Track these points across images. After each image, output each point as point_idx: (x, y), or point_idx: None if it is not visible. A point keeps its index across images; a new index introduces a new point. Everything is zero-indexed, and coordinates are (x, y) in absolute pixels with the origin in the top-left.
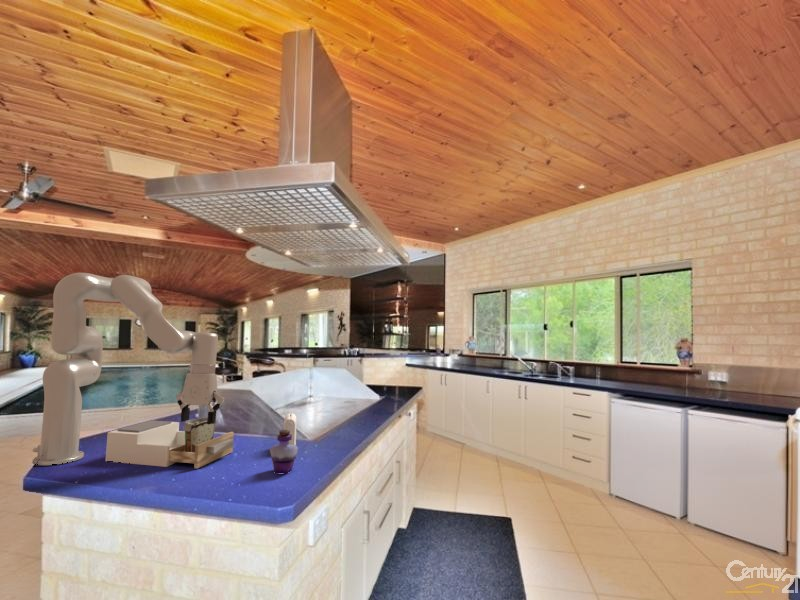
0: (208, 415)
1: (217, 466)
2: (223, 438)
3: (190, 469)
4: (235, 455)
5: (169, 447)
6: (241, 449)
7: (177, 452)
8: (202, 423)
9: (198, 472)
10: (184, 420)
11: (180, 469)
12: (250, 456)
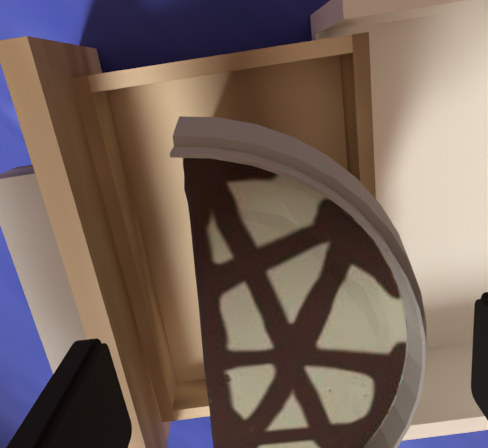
0: (40, 422)
1: (20, 157)
2: None
3: (120, 39)
4: None
5: (341, 21)
6: (167, 442)
7: (262, 49)
8: (203, 351)
9: (19, 9)
10: (477, 327)
11: (179, 12)
12: (16, 369)
